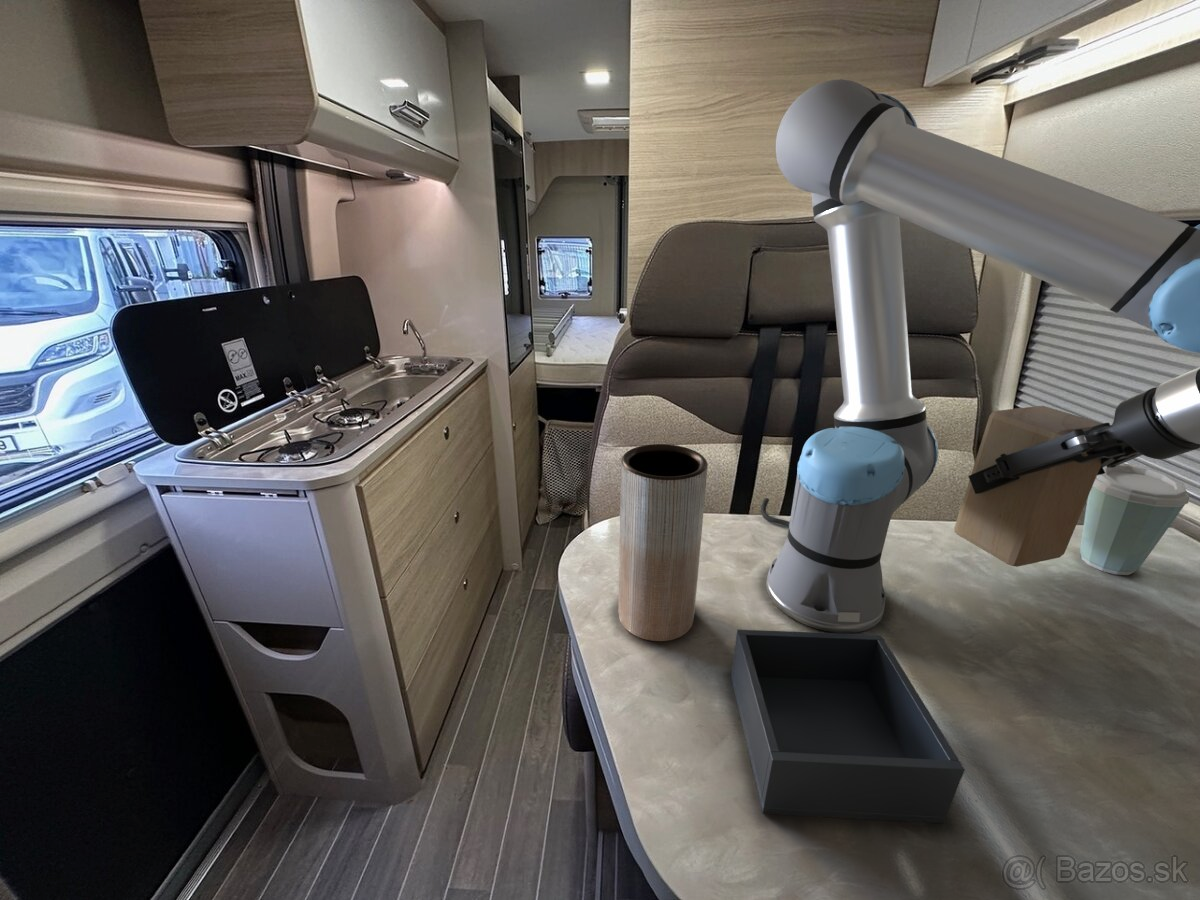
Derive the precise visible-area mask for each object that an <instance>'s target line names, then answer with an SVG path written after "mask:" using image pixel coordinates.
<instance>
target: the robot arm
mask: <svg viewBox="0 0 1200 900" xmlns="http://www.w3.org/2000/svg"><path fill="white" fill-rule="evenodd" d="M775 156H776V162H777V165H778V168H779V171H780V172H781V174H782V175H783V176H784V178H785V179H786V180H787V181H788V183H790V184H791V185H792V186H793V187H795V188H797V189H799V190H801V191H804V192H807V193H810V194H811V195H810V196H811V203H812V204H811V206H812V214H813V220H814V222H815V223H816V224H818V225H819V226H821V227H822V228H823V229H825V231H826V233H827V241H828V242H827V243H828V251H829V260H830V261H829V262H830V272H831V281H832V293H833V300H834V301H833V302H834V311H835V312H834V313H835V323H836V332H837V333H836V334H837V343H838V344H837V345H838V353H839V364H840V375H841V384H842V395H843V402H842V404H841V405H840V406H839V407H838V408H837V410H836V411H834V412H833V420H834V427H829V428H825V429H822V430H820V431H817V432H815V433H813V434H812V435H811V436H810V437H809V438H808V439H807V440H806V441H805V442H804V445H803V447H802V450H801V454H800V456H799V460H798V461H797V469H796V470H797V472H796V473H797V474H796V480H795V486H794V491H793V492H794V493H793V499H792V505H791V513H790V518H789V521H788V520H785V519H781V518H777V517H773V516H771V515H769V514H768V513H767V506H768V504H769V502H770V499H769V498H768V497H765V498H764V499H763V501H762V502H761V505H760V514H761V516H762V518H763V519H764V520H766V521H767V522H770V523H773V524H777V525H782V526H786V527H788V531H787V536H786V540H785V541H784V543H783V544H782V546H781V548H780V550H779V552H778V554H777V557H775V559H774V560H773V561H772V562H771V564H770V566H769V568H768V572H767V574H766V575H767V576H766V581H765V582H766V583H765V585H766V586H765V588H766V592H767V595H768V597H769V598H770V600H771V601H772V603H773V604H774V605H775V606H776V607H777V608H778V609H779V610H780V611H781V612H782V613H784V614H786V615H787V616H788V617H789V618H791V619H793V620H795V621H797V622H799V623H801V624H803V625H806V626H808V627H811V628H814V629H816V630H820V631H825V632H828V633H844V634H856V633H862V632H864V631H867V630H870V629H872V628H874V627H876V625H878V624H880V622H881V620H882V619H883V615H884V611H885V608H886V591H885V587H884V586H883V585H884V584H883V583H884V581H883V572H882V565H881V558H882V555H883V550H884V547H885V543H886V538H887V535H888V531H889V527H890V522H891V520H892V517H893V515H894V513H895V512H896V511H897V510H898V509H899V508H900V507H901V506H902V505H903V504H904V503H905V502H906V501H907V500H908V499H909V498H910V497H912V496H913V495H914V494H915V493H916V492H918V490H920V489H921V487H923V486H924V485H925V484H926V483H927V482H928V480H929V479H930V477H931V476H932V475H933V473H934V470H935V468H936V465H937V463H938V459H939V444H938V440H937V437H936V435H935V433H934V431H933V430H932V428H931V427H930V426H929V425H928V423H927V409H926V408H927V407H926V404H925V403H923V402H922V401H921V400H920V399H918V398H916V396H915V395H913V391H912V377H911V361H910V349H909V348H910V347H909V333H908V321H907V320H908V319H907V306H906V305H907V304H906V291H905V277H904V276H905V275H904V262H903V249H902V236H901V235H902V233H901V221H900V220H901V219H903V220H905V221H908V222H910V223H912V224H914V225H917V226H919V227H921V228H923V229H925V230H928V231H930V232H932V233H935V234H937V235H939V236H941V237H944V238H946V239H948V240H950V241H952V242H954V243H957V244H959V245H962V246H964V247H966V248H969V249H970V250H973V251H975V252H978V253H979V254H982V255H984V256H986V257H989V258H991V259H993V260H996V261H998V262H999V263H1001V264H1004V265H1006V266H1009V267H1011V268H1014V269H1015V270H1018V271H1020V272H1022V273H1025V274H1027V275H1030V276H1032V277H1034V278H1036V279H1039V280H1041V281H1044V282H1045V283H1047V284H1050V285H1052V286H1054V287H1056V288H1059V289H1061V290H1064V291H1066V292H1068V293H1071V294H1072V295H1075V296H1077V297H1080V298H1082V299H1084V300H1085V301H1089V302H1090V303H1093V304H1095V305H1097V306H1099V307H1102V308H1104V309H1106V310H1109V311H1111V312H1112V313H1114V314H1117V316H1120V317H1122V318H1125V319H1127V320H1128V321H1131V322H1133V323H1136V324H1138V325H1140V326H1142V327H1144V328H1147V329H1149V330H1151V331H1153V332H1154V333H1155V334H1156V335H1157V336H1159V338H1160V339H1161V340H1162V341H1164V343H1168V344H1169V345H1171V346H1174V347H1176V348H1178V349H1180V350H1183V351H1187V352H1191V353H1196V354H1200V223H1199V224H1198V225H1196V226H1192V225H1191V226H1190V224H1188V223H1185V222H1182V221H1179V220H1176V219H1173V218H1171V217H1168V216H1165V215H1163V214H1159V213H1156V212H1154V211H1151V210H1148V209H1146V208H1143V207H1139V206H1137V205H1134V204H1132V203H1129V202H1126V201H1123V200H1121V199H1117V198H1115V197H1112V196H1110V195H1106V194H1103V193H1101V192H1098V191H1095V190H1093V189H1090V188H1087V187H1084V186H1082V185H1079V184H1075V183H1073V182H1070V181H1067V180H1064V179H1061V178H1059V177H1057V176H1054V175H1051V174H1048V173H1045V172H1043V171H1040V170H1037V169H1034V168H1031V167H1028V166H1026V165H1024V164H1023V165H1022V164H1020V163H1017V162H1015V161H1011V160H1009V159H1006V158H1003V157H1001V156H998V155H994V154H992V153H989V152H987V151H983V150H981V149H978V148H976V147H972V146H969V145H967V144H964V143H961V142H959V141H955V140H953V139H950V138H947V137H945V136H943V135H940V134H937V133H934V132H931V131H927V130H925V129H922V128H919V127H918V125H917V122H916V120H915V118H914V116H913V115H912V113H911V112H910V110H908V108H907V107H906V105H905V104H903V103H902V102H901V101H900V100H898V99H897V98H896V97H893V96H891V95H888V94H885V93H879V92H876V91H874V90H873V89H870V88H868V87H867V86H864V85H862V84H861V83H859V82H856V81H854V80H849V79H843V78H842V79H829V80H824V81H822V82H820V83H817V84H815V85H813V86H811V87H810V88H808V89H806V90H804V92H802V93H801V94H800V95H799V96H798V97H797V98H796V99H794V100H793V102H792V104H791V105H790V106H789V107H788V108H787V110H786V112H785V113H784V115H783V117H782V119H781V121H780V123H779V126H778V129H777V133H776V138H775ZM900 218H901V219H900ZM1112 421H1113V422H1112V423H1110V422H1104V423H1103V422H1102V423H1103V424H1100V425H1097V426H1094V427H1092V428H1091V429H1090V430H1087V431H1083V429H1076V430H1073V431H1072V432H1070V433H1067V434H1065V435H1063V436H1060V437H1058V438H1055V439H1052V440H1049V441H1047V442H1044V443H1041V444H1038V445H1035V446H1032V447H1029V448H1026V449H1023V450H1021V451H1018V452H1015V453H1012V454H1009V455H1006V454H1001V455H1000V457H999V458H997V459H995V462H996V464H995V465H993V466H991V467H988V468H986V469H984V470H981V471H979V472H977V473H974V474H972V475H971V474H969V475H968V479H969V480H970V482H971V484H972V487H973V489H974V492H975V494H979V493H982V492H985V491H988V490H990V489H993V488H996V487H998V486H1001V485H1004V484H1006V483H1009V482H1012V481H1014V480H1017V479H1020V478H1019V476H1022V475H1026V474H1029V473H1033V472H1037V471H1040V470H1044V469H1047V468H1051V467H1055V466H1059V465H1062V464H1066V463H1070V462H1073V461H1076V462H1078V463H1086V462H1089V461H1093V460H1097V459H1101V467H1100V469H1099V472H1098V474H1097V475H1101V474H1104V473H1105V471H1104V469H1103V467H1105V466H1107V468H1110V467H1111V468H1113V467H1116V466H1117V465H1120V464H1122V463H1123V464H1126V463H1127V462H1129V461H1132V460H1134V459H1136V458H1138V457H1141V456H1144V457H1147V458H1149V459H1153V460H1167V459H1170V458H1175V457H1177V456H1180V455H1183V454H1186V453H1189V452H1192V451H1195V450H1199V449H1200V366H1199V367H1197V368H1194V369H1192V370H1190V371H1187V372H1185V373H1182V374H1181V375H1178V376H1176V377H1173V378H1171V379H1168V380H1167V381H1164V382H1162V383H1160V384H1159V385H1158V386H1156V387H1152V388H1150V389H1147V390H1144V391H1143V392H1140V393H1137V394H1135V395H1134V396H1131V397H1129V398H1126V399H1124V400H1122V401H1121V402H1120V403H1119V404H1118V405H1117V406H1116V408H1115V410H1114V418H1113V420H1112ZM1083 453H1086V454H1088V456H1082V454H1083Z"/></svg>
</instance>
